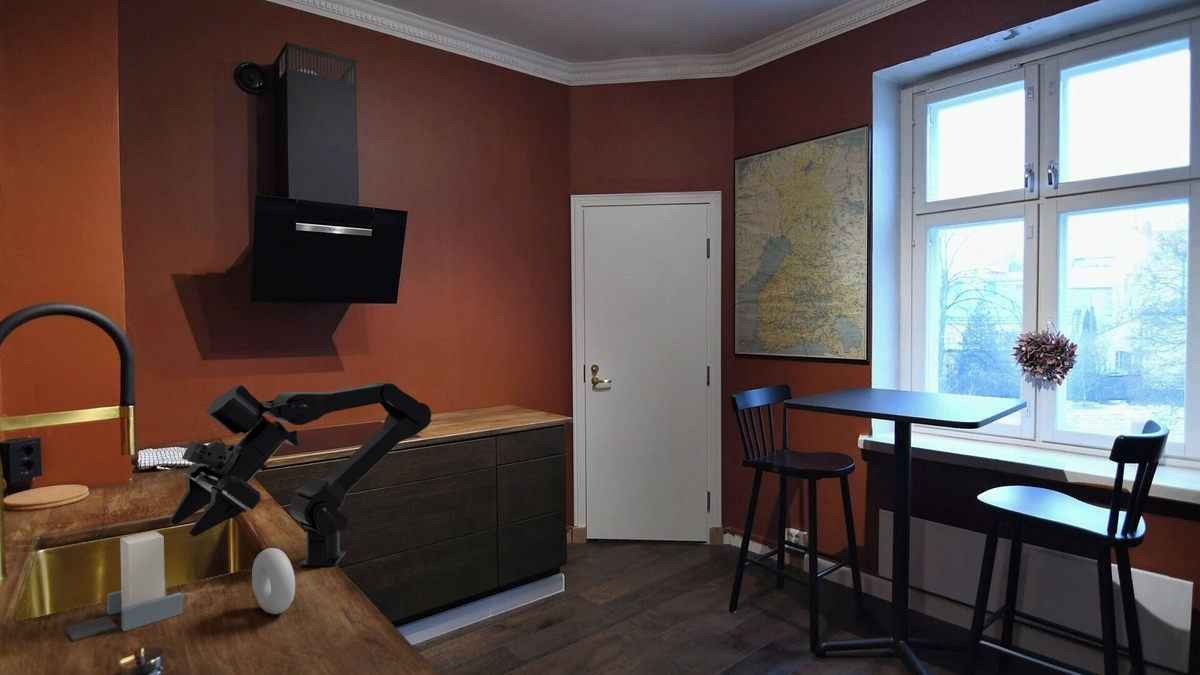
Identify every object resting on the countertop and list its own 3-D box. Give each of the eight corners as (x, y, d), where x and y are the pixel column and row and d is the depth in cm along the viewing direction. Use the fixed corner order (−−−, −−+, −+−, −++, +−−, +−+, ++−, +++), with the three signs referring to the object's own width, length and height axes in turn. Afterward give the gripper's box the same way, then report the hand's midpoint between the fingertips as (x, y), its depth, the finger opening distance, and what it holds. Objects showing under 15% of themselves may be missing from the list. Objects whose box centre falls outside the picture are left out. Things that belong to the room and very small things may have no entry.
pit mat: (107, 617, 96) (107, 615, 96) (116, 628, 92) (116, 626, 92) (65, 629, 92) (65, 627, 92) (73, 641, 89) (73, 639, 89)
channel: (163, 596, 103) (163, 578, 103) (182, 613, 97) (182, 594, 97) (107, 612, 98) (107, 593, 97) (123, 631, 91) (123, 611, 91)
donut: (248, 607, 99) (247, 545, 99) (270, 600, 102) (269, 539, 102) (277, 626, 93) (276, 559, 93) (300, 617, 96) (299, 552, 95)
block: (156, 604, 100) (154, 530, 100) (165, 612, 97) (163, 536, 97) (121, 614, 97) (120, 537, 97) (129, 623, 94) (128, 544, 94)
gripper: (197, 417, 111) (122, 491, 103) (239, 427, 99) (157, 512, 91) (245, 454, 117) (178, 527, 109) (290, 468, 105) (218, 551, 97)
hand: (181, 529), depth 101 cm, fingers open, 9 cm apart
